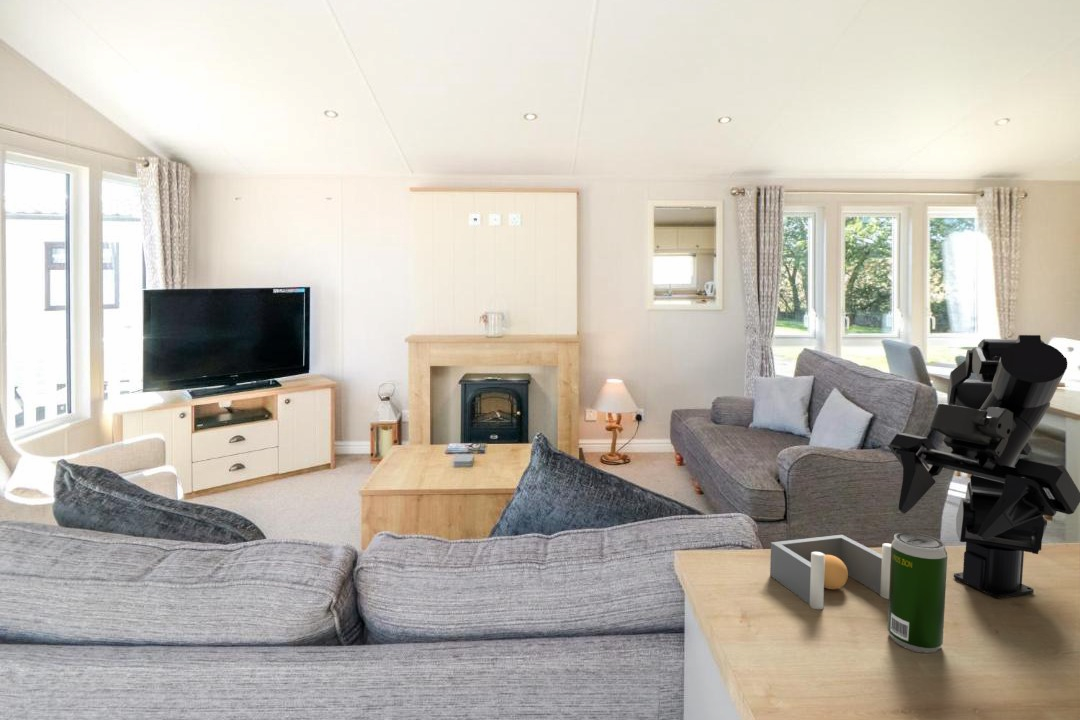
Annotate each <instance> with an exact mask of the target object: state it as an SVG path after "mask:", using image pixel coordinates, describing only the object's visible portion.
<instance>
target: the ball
mask: <svg viewBox="0 0 1080 720" xmlns="http://www.w3.org/2000/svg"><path fill="white" fill-rule="evenodd" d="M848 578H849V576H848V571H847V568H846V566H845V564H844V563H843V562H842V561H841V560H840V559H839V558H837V557H835V556H833V555H825V571H824V589H828V590H838V589H840V588H842V587H843V586H844V585H846V583H847V581H848Z"/></svg>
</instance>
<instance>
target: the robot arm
mask: <svg viewBox="0 0 1080 720" xmlns="http://www.w3.org/2000/svg"><path fill="white" fill-rule="evenodd" d="M1067 368H1068V359H1067V357H1066V356H1064V354H1063V353H1062V352H1061V351H1060V350H1059V349H1057V347H1054V346H1052V345H1049V344H1048V343H1045V341H1044V340H1042V337H1041V335H1040V334H1018V335H1017V339H1013V338H1012V339H1010V338H1009V339H1008V338H1007V339H1005V338H1002V339H1001V338H983V339H982V340H980V342H979V343H978V344H977V346H975V347H973V348H971V349H967V350H966V355H965V360H964V361H963V362H962V363H960V364H959V365H958V366H957V367H955V368H954V369H953V370H951V371H950V374H949V380H948V387H947V394H946V395H947V396H946V397H947V398H946V399H947V400H946V401H947V404H945V403H938V404H937V407H936V409H935V412H934V414H933V418H932V421H931V423H930V426H929V429H930V430H932V431H936V432H938V433H940V434H942V435H944V436H945V437H944V439H942V441H943V442H944V444H945V446H946V447H948V448H951V452H946V451H943V450H942V451H941V450H937V448H936V447H935V446H934V443H932V441H931V440H930V438H929V437H926V436H920V435H915V434H910V433H905V432H901V433H896V434H895V435H894V436H893V438H892V439H891V440H890V442H889V444H888V445H887V447H888V448H889V450H890V451H891V452H892V454H893V455H894V456H895V458H896V459H897V461H898V462H899V463H900V465H901V466H902V483H901V488H900V495H899V502H898V510H899V512H900V513H901V514H904V515H905V514H906V513H908V512H910V510H912V509H913V507H915V505H917V503H918V502H919V501H920V500H921V499H922V498H923V497H924V495H926V493H927V492H928V491H929V490H930V489H931V488H932V487H933V486H934V485H935V484H936V480H935V479H934V477H936V476H939V475H940V473H941V471H942V470H943V469H948V470H951V471H955V472H959V473H964V474H968V475H970V479H969V482H967V484H966V485H967V486H966V491H965V497H963V498H961V499H960V502H959V506H958V509H957V512H956V518H955V520H956V521H955V531H956V535H957V538H958V540H959V543H965V551H964V552H963V563H962V564H963V567H962V572H955V573H953V578H954V579H956V580H959V581H960V582H963V583H964V584H966V585H969V586H971V587H973V588H975V589H977V590H979V591H981V592H983V593H985V594H988V595H990V596H991V597H993V598H996V599H1003V598H1009V597H1016V596H1023V595H1028V594H1029V595H1030V594H1034V592H1035V589H1034V588H1032V587H1031V586H1029V585H1026V584H1024V583H1023V571H1024V560H1025V559H1024V555H1025V553H1032V554H1034V555H1039V551H1042V546H1043V544H1042V542H1043V537H1044V535H1045V532H1046V529H1047V526H1048V520H1047V519H1046V518H1044V516H1049V517H1054V516H1055V515H1056V514H1057V513H1058V512H1059V513H1062V514H1064V515H1065V514H1066V515H1072V514H1074V513H1075V512H1076V509H1077V508H1078V506H1079V505H1080V490H1079V489H1078V487H1077V485H1076V483H1075V482H1074V480H1073V479H1072V476H1071V475H1070V473H1069V471H1068V470H1067V469H1066V468H1065V466H1064V465H1063V464H1060V463H1055V462H1050V461H1046V460H1040V459H1035V458H1031V457H1022V458H1021V457H1020V458H1018V457H1019V455H1024V456H1028V455H1029V453H1030V452H1031V450H1032V447H1031V446H1030V445H1029V443H1028V442H1029V440H1030V438H1031V437H1032V435H1033V433H1034V432H1035V431H1036V429H1037V428H1038V426H1039V424H1040V422H1041V421H1042V419H1043V418H1044V416H1045V414H1046V413H1047V411H1048V410H1049V408H1050V407H1051V401H1052V399H1053V397H1054V395H1055V393H1056V391H1057V389H1058V387H1059V384H1060V383H1061V380H1063V376H1064V374H1065V373H1066V371H1067ZM972 374H976V377H977V378H978V379H969V378H970V377H971V375H972ZM1017 459H1018V460H1017ZM1016 461H1017V462H1016ZM1014 464H1015V465H1014ZM1013 465H1014V467H1013Z"/></svg>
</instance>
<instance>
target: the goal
mask: <svg viewBox="0 0 1080 720" xmlns="http://www.w3.org/2000/svg"><path fill="white" fill-rule="evenodd" d="M891 544H892V543H888V542H887V543H886V542H885V543H882V544H881V545H882V546H881V547H882V548H881V553H879V552H877V551H875V550H873V549H872V548H869V547H867V546H865V545H864V544H861V543H859V542H858V541H856V540H854V539H851V538H850V537H847V536H846V535H844V534H835V535H826V536H818V537H808V538H799V539H788V540H781V541H772V542H770V563H769V564H770V565H769V566H770V568H769V569H770V570H769V571H770V572H769V576H770V577H771V576H772V577H773V579H774V580H775V579H776V581H777V582H778V583H779V582H780V583H779V584H781V586H783V585H784V587H785V588H787V589H788V590H789V591H790V590H791V591H790V592H792V593H793V592H794V593H793V594H794V595H796V594H797V595H798V596H797V595H796V596H797V597H798V598H800V599H801V598H802V600H803V601H804V600H805V601H804V602H806V603H807V604H808V605H809V607H810V608H811V609H814V610H823V609H824V598H825V597H824V595H825V594H824V593H825V588H824V571H825V555H833V556H835V557H837V558H839V559H840V560H841V561H842V562H843V563H844V564H845V566H846V568H847V571H848V577H850V578H852V579H853V580H855V581H857V582H858V581H859V583H860V584H861V585H863V584H864V586H866V587H867V588H868V587H869V589H870V590H872V591H873V592H876V594H879V595H880V597H881V598H883V599H886V600H889V586H890V564H891ZM772 577H771V578H772Z"/></svg>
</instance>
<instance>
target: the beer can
mask: <svg viewBox="0 0 1080 720" xmlns="http://www.w3.org/2000/svg"><path fill="white" fill-rule="evenodd" d="M890 544H891V564H890V586H889V599H888V613H887V614H888V616H887V631H888V634H889V636H890V638H891V639H892V641H893V642H894V643H896V644H897V645H899V646H900V647H903V648H905V649H908V650H911V651H914V652H918V653H923V654H930V653H931V654H932V653H935V652H938V651H939V650H940V648H941V647H942V646H943V645H944V644H943V643H944V642H943V641H944V627H945V626H944V625H945V610H946V609H945V607H946V606H945V605H946V604H945V603H946V587H947V570H948V568H947V567H948V552H947V550H946V544H945V542H944V541H943V540H941V539H939V538H935V537H934V536H931V535H926V534H923V533H917V532H898V533H895V534H894V535H893V540H892V541H891V543H890Z"/></svg>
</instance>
